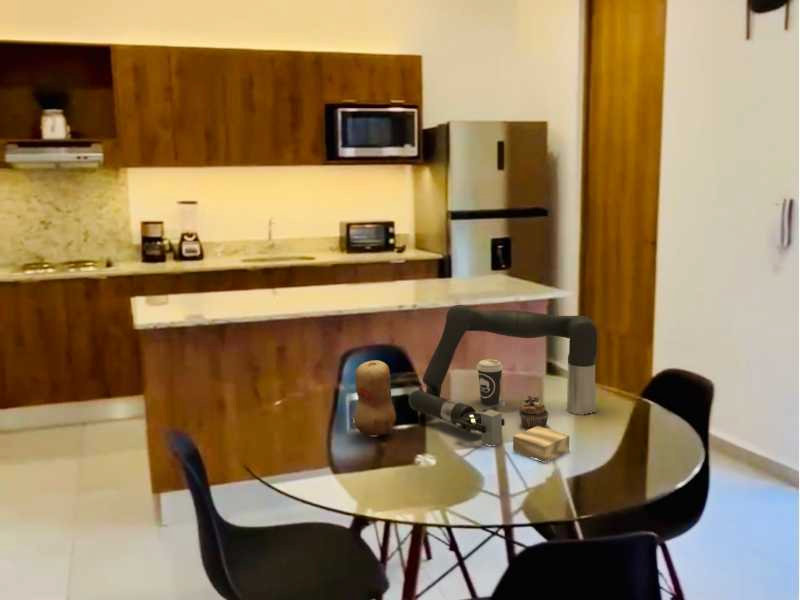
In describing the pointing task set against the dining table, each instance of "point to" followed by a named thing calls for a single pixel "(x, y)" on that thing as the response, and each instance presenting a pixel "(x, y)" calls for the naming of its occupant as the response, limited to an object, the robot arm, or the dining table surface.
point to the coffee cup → (489, 381)
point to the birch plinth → (541, 443)
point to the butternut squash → (374, 399)
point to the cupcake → (533, 413)
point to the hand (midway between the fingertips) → (494, 426)
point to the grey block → (492, 427)
